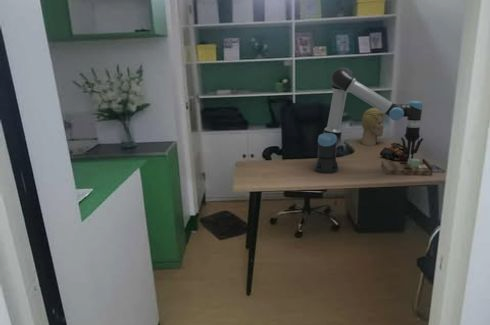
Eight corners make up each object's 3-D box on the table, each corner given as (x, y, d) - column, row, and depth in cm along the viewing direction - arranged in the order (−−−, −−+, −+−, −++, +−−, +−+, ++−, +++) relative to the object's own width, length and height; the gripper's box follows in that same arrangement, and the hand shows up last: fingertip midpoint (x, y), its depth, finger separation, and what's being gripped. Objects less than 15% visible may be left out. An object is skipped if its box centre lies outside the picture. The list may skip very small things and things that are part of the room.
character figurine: (392, 136, 260) (418, 147, 234) (397, 149, 265) (423, 160, 239) (372, 148, 260) (396, 160, 234) (377, 161, 264) (401, 173, 238)
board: (386, 174, 223) (386, 165, 221) (381, 165, 240) (382, 157, 239) (431, 175, 217) (432, 166, 216) (423, 166, 235) (424, 158, 234)
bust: (384, 146, 290) (387, 109, 282) (361, 146, 294) (363, 109, 286) (381, 141, 307) (384, 106, 299) (360, 141, 311) (361, 106, 303)
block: (410, 167, 225) (411, 160, 224) (408, 164, 230) (409, 158, 229) (419, 167, 224) (419, 161, 223) (417, 164, 229) (417, 158, 228)
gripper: (403, 127, 218) (399, 164, 225) (425, 128, 216) (421, 165, 222) (400, 125, 226) (397, 161, 232) (422, 125, 223) (418, 162, 230)
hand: (408, 163), depth 227 cm, fingers closed
